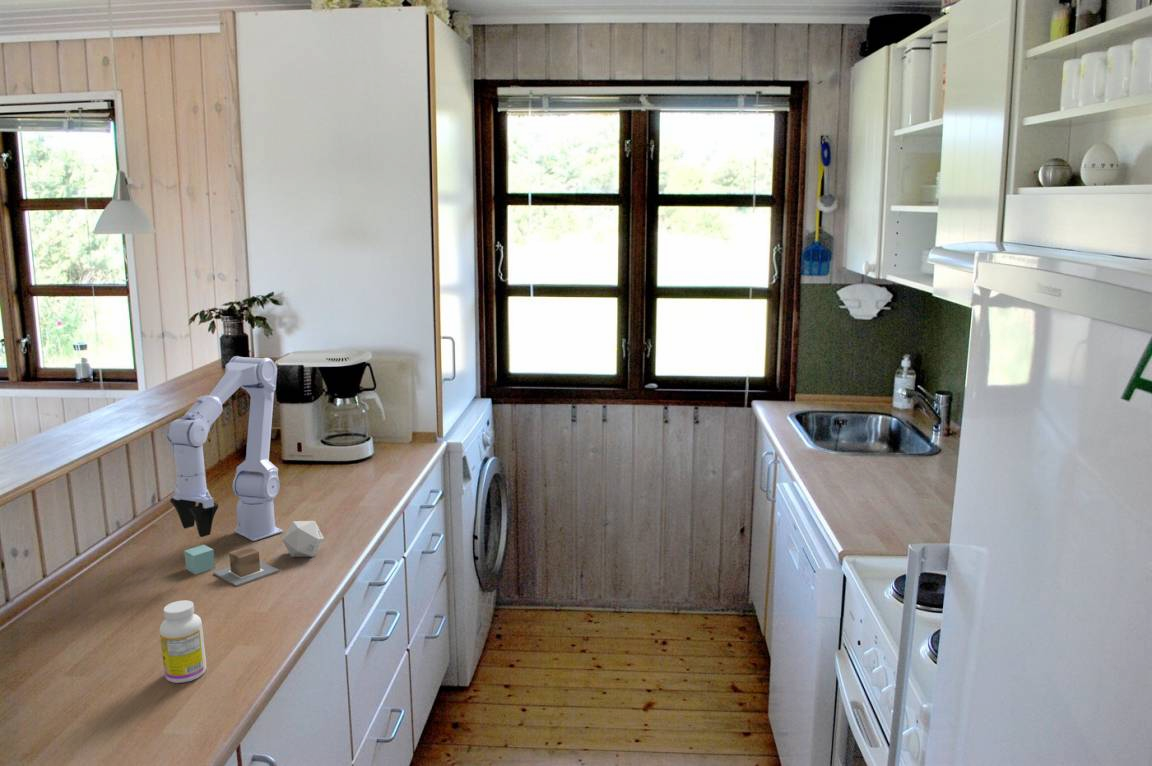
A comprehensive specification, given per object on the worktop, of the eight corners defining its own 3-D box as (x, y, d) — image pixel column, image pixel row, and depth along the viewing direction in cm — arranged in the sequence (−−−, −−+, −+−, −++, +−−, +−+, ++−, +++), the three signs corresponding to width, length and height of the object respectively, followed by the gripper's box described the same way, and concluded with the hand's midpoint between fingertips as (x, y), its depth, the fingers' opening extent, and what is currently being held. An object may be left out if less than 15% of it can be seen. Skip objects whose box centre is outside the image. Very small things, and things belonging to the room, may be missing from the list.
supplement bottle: (173, 664, 151) (166, 598, 149) (212, 663, 152) (205, 596, 149) (158, 685, 145) (150, 616, 142) (199, 683, 145) (191, 614, 143)
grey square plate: (213, 573, 188) (213, 571, 188) (255, 559, 196) (255, 557, 196) (236, 586, 182) (236, 584, 182) (279, 571, 189) (278, 569, 189)
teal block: (186, 569, 191) (184, 550, 190) (205, 563, 194) (203, 544, 193) (195, 574, 188) (193, 555, 187) (215, 568, 192) (213, 549, 191)
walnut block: (230, 571, 189) (229, 552, 188) (249, 565, 192) (248, 546, 191) (241, 577, 186) (239, 557, 185) (260, 570, 189) (258, 551, 188)
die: (301, 567, 193) (325, 530, 194) (270, 547, 194) (293, 511, 195) (312, 565, 201) (335, 530, 202) (282, 546, 202) (304, 511, 203)
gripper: (157, 470, 188) (164, 528, 191) (188, 484, 179) (194, 544, 182) (189, 463, 194) (194, 519, 196) (220, 476, 184) (226, 535, 187)
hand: (196, 531), depth 189 cm, fingers open, 7 cm apart
